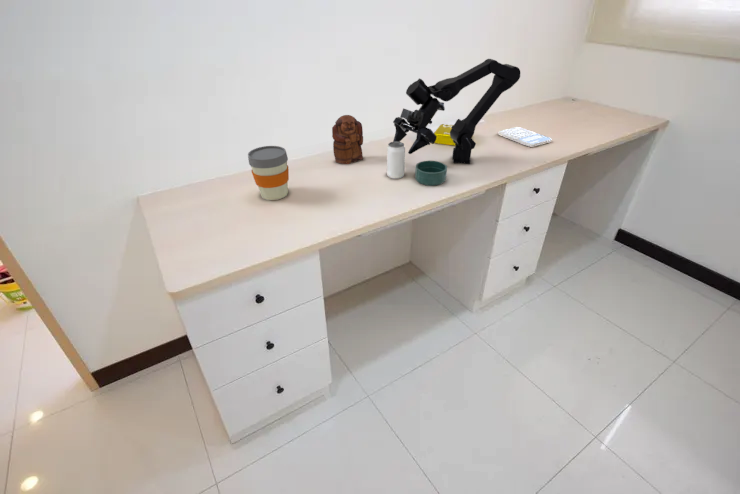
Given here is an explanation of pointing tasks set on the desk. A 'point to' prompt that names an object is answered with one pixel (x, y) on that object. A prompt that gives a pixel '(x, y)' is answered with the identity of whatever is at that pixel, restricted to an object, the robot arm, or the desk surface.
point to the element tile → (444, 135)
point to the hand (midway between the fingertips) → (400, 149)
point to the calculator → (524, 136)
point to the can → (395, 160)
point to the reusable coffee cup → (270, 171)
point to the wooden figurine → (347, 140)
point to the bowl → (430, 173)
